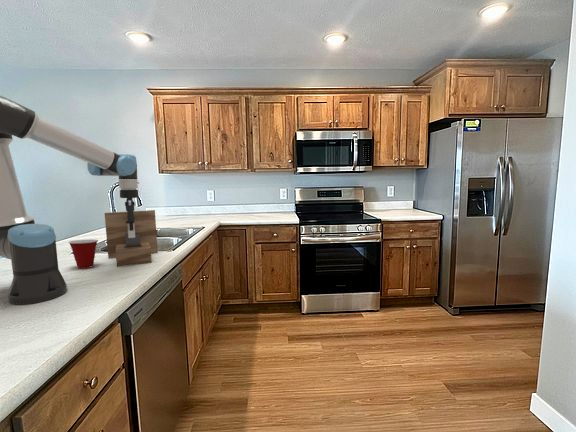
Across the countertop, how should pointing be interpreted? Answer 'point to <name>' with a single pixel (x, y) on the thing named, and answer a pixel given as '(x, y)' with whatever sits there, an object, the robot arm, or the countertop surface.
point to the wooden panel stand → (119, 228)
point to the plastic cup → (84, 252)
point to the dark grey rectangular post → (133, 241)
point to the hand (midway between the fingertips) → (131, 235)
